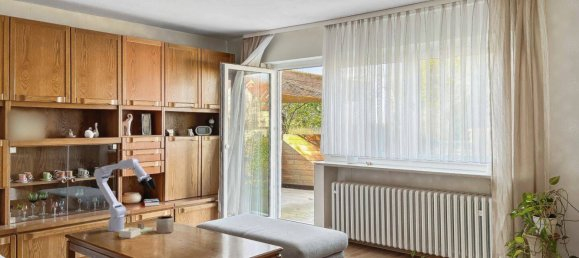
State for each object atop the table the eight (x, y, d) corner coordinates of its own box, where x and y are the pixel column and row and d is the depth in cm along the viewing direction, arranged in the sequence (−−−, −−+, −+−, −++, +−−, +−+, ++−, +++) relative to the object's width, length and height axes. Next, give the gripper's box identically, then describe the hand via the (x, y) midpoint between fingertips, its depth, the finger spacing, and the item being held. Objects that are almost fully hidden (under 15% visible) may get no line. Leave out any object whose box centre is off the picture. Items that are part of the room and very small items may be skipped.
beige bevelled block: (119, 237, 278) (119, 230, 278) (129, 234, 286) (129, 227, 286) (130, 239, 274) (130, 231, 274) (140, 235, 283) (140, 228, 283)
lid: (128, 231, 292) (128, 224, 292) (139, 227, 303) (139, 220, 303) (142, 232, 288) (142, 225, 288) (153, 229, 299) (152, 221, 299)
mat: (127, 232, 292) (127, 231, 292) (139, 228, 303) (139, 227, 303) (142, 233, 288) (142, 233, 288) (154, 229, 299) (154, 228, 299)
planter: (170, 234, 287) (170, 219, 287) (154, 234, 287) (153, 219, 287) (175, 230, 298) (175, 215, 298) (159, 230, 298) (159, 215, 298)
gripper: (138, 168, 284) (151, 185, 281) (150, 169, 298) (162, 184, 295) (131, 176, 284) (143, 192, 281) (142, 176, 298) (154, 192, 295)
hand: (152, 189), depth 288 cm, fingers open, 7 cm apart
